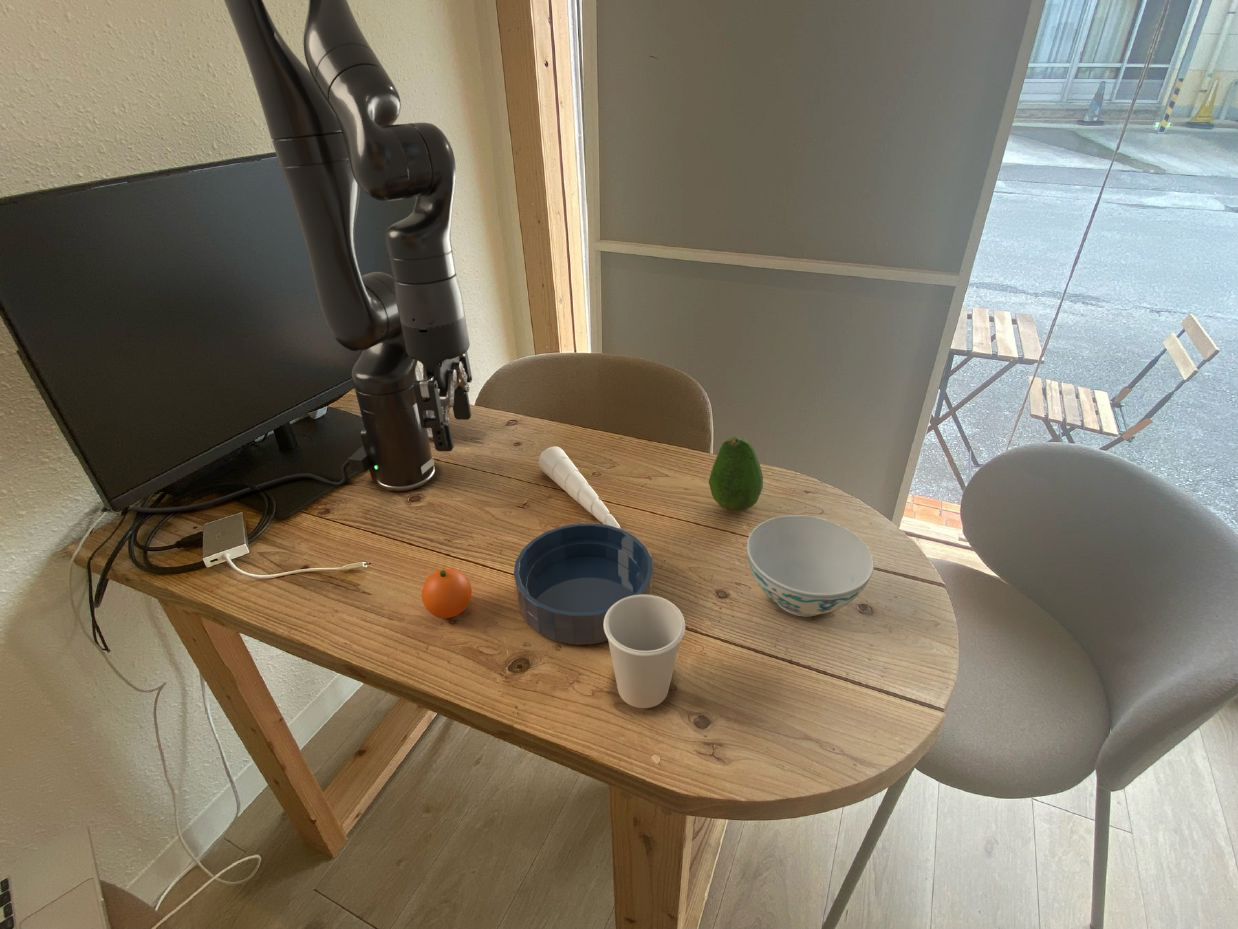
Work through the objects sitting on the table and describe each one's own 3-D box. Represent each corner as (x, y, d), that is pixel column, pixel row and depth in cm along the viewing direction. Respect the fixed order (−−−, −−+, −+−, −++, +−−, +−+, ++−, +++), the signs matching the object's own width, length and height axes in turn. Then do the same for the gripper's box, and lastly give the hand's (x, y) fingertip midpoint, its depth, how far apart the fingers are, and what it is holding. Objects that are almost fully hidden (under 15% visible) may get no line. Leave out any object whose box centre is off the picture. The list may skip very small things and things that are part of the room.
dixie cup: (592, 703, 69) (589, 638, 63) (623, 648, 75) (623, 584, 70) (665, 730, 66) (668, 664, 60) (691, 670, 72) (696, 606, 67)
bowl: (497, 635, 77) (492, 602, 74) (543, 546, 91) (540, 515, 88) (637, 660, 74) (637, 626, 71) (662, 564, 88) (663, 532, 85)
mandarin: (417, 624, 79) (407, 585, 75) (439, 590, 84) (431, 552, 80) (462, 632, 77) (454, 592, 74) (482, 598, 82) (475, 559, 79)
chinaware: (719, 577, 85) (724, 532, 81) (811, 548, 90) (819, 504, 86) (786, 658, 74) (796, 610, 70) (887, 620, 79) (902, 572, 74)
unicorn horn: (604, 552, 90) (603, 524, 87) (537, 473, 108) (535, 448, 105) (633, 541, 92) (633, 514, 89) (563, 465, 110) (561, 441, 107)
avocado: (718, 488, 103) (724, 422, 97) (765, 501, 100) (774, 434, 94) (699, 514, 97) (704, 446, 91) (749, 529, 94) (758, 459, 88)
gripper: (421, 296, 82) (442, 409, 91) (378, 335, 70) (408, 461, 78) (478, 295, 82) (494, 409, 90) (445, 335, 69) (468, 462, 78)
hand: (454, 433), depth 84 cm, fingers open, 8 cm apart
